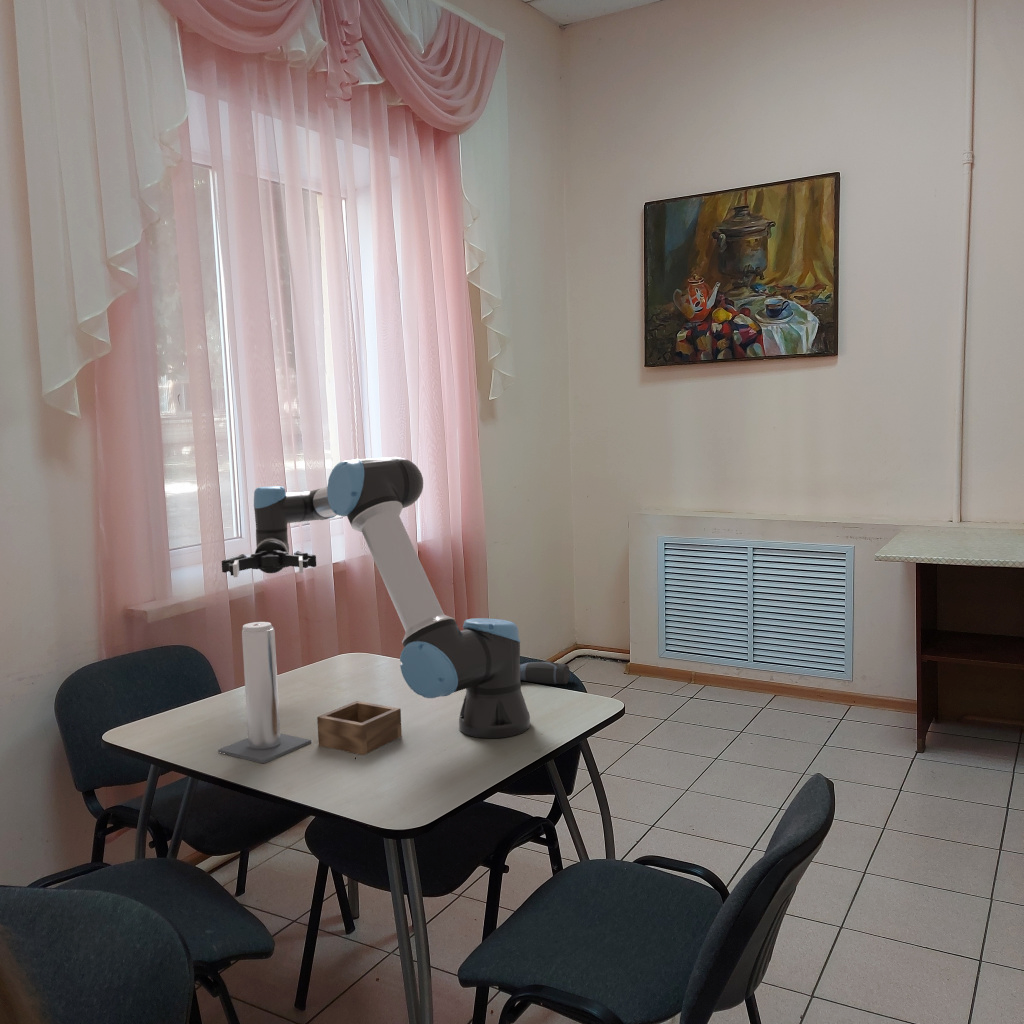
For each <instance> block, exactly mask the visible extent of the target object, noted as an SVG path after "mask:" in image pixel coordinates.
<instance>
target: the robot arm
mask: <svg viewBox="0 0 1024 1024" xmlns="http://www.w3.org/2000/svg"><path fill="white" fill-rule="evenodd" d="M423 489H424V477H423V475H422V472H421V470H420V469H419V466H417V465H416V464H415V463H413V462H412V461H411V460H409V459H406V458H404V457H400V456H399V457H398V456H391V457H390V456H389V457H377V458H376V457H375V458H361V459H360V458H353V459H349V460H343V461H340V462H338V463H337V464H336V465H335V466H334V467H333V469H332V470H331V472H330V474H329V477H328V480H327V486H325V487H321V488H317V489H313V490H309V491H299V492H296V491H295V492H294V491H293V492H292V491H291V492H287V491H286V489H285V487H284V486H281V485H280V486H279V485H271V486H259V487H256V488H255V490H254V491H253V511H254V520H255V541H256V542H255V543H256V545H255V546H256V548H255V552H254V553H252V554H251V555H250V556H247V555H246V554H242V553H241V554H238V555H237V556H235V557H231V558H227V559H224V560H221V572H222V573H228V572H229V573H230V577H231V576H233V578H238V577H239V574H240V572H241V571H246V570H250V569H252V570H260V571H261V572H263V573H265V574H276V573H279V572H280V571H282V570H283V569H284V568H289V567H295V568H298V569H299V570H298V571H299V574H303V573H304V568H305V569H306V568H309V567H311V568H316V567H317V555H316V554H310V553H308V552H302V551H299V550H297V551H295V552H293V554H290V553H289V552H290V546H289V539H288V536H289V535H288V524H294V523H301V522H302V523H303V522H309V521H319V520H320V521H324V520H328V519H332V518H335V517H336V516H340V517H343V518H344V517H347V519H348V521H349V524H350V526H351V528H352V529H353V530H355V531H358V532H359V533H360V532H361V533H362V535H363V538H364V540H365V542H366V545H367V547H368V549H369V551H370V554H371V557H372V559H373V562H374V563H375V566H376V568H377V569H378V572H379V574H380V576H381V579H382V581H383V584H384V585H385V588H386V590H387V592H388V595H389V598H390V599H391V602H392V604H393V606H394V608H395V611H396V614H397V615H398V617H399V620H400V622H401V624H402V627H403V630H404V631H405V633H404V636H403V639H402V641H401V643H402V645H403V649H402V651H401V653H400V655H399V661H400V662H401V664H400V665H399V667H400V672H401V675H402V677H403V680H404V681H405V683H406V684H407V685H408V687H409V688H410V690H412V691H413V692H414V693H415V694H416V695H418V696H421V697H423V698H425V699H436V698H441V697H448V696H450V695H451V694H453V693H457V692H459V691H463V690H465V695H464V699H463V702H462V705H461V709H460V712H459V717H458V727H459V731H460V732H461V733H463V734H464V735H467V736H470V737H475V738H480V739H481V738H482V739H483V738H484V739H498V738H500V739H501V738H508V737H512V736H513V735H514V736H517V735H520V734H523V733H524V731H525V732H527V731H528V730H529V729H530V727H531V716H530V712H529V711H528V707H527V704H526V700H525V699H524V698H525V697H524V696H523V692H522V688H521V680H520V664H521V645H520V644H521V639H520V633H519V627H518V625H517V624H516V623H515V622H514V621H510V620H505V619H499V618H486V617H485V618H484V617H479V618H477V617H475V618H469V619H467V618H466V619H465V620H464V621H463V625H462V630H460V628H459V626H458V624H457V621H456V620H455V619H456V618H454V617H451V616H450V615H446V614H445V613H444V611H443V609H442V606H441V604H440V602H439V600H438V598H437V595H436V594H435V591H434V589H433V587H432V584H431V582H430V580H429V578H428V576H427V573H426V571H425V569H424V566H423V565H422V563H421V560H420V559H419V556H418V554H417V552H416V549H415V548H414V545H413V543H412V540H411V538H410V536H409V534H408V532H407V530H406V528H405V525H404V522H403V520H402V519H401V517H400V515H401V513H402V510H403V509H404V508H407V507H411V506H412V505H414V503H416V502H417V501H418V499H419V498H420V497H421V495H422V493H423ZM528 728H529V729H528ZM527 729H528V730H527ZM522 732H523V733H522Z"/></svg>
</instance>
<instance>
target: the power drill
mask: <svg viewBox="0 0 1024 1024" xmlns="http://www.w3.org/2000/svg"><path fill="white" fill-rule="evenodd" d="M570 672H571V671H570V667H569V665H568V664H566V663H565V664H564V663H558V662H547V661H546V662H545V661H537V662H536V661H534V662H525V663H520V681H524V682H530V683H536V684H546V685H547V684H548V685H567V684H568V683H569V680H570V674H571V673H570Z"/></svg>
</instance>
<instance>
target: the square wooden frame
mask: <svg viewBox="0 0 1024 1024" xmlns="http://www.w3.org/2000/svg"><path fill="white" fill-rule="evenodd" d="M401 715H402V713H401V708H399V707H394V706H389V705H382V704H378V703H372V702H365V701H359V700H355V701H353V702H350V703H348V704H345V705H343V706H340V707H337V708H336V709H333V710H331V711H328V712H326V713H323V714H321V715H318V716H317V717H316V721H317V737H318V738H317V739H318V741H317V742H318V743H317V744H318V746H320V747H325V748H328V749H333V750H338V751H342V752H343V751H344V752H348V753H352V754H357V755H361V756H365V755H367V754H368V753H371V752H373V751H375V750H377V749H379V748H381V747H383V746H385V745H388V744H390V743H392V742H393V741H396V740H397V739H399V738H402V737H403V734H402V716H401Z"/></svg>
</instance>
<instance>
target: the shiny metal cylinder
mask: <svg viewBox="0 0 1024 1024" xmlns="http://www.w3.org/2000/svg"><path fill="white" fill-rule="evenodd" d="M275 633H276V632H275V627H274V626H272V623H271V622H269V621H256V622H255V621H254V622H249V623H245V624H243V625H242V630H241V638H242V639H241V642H242V656H243V657H242V659H243V675H244V676H243V677H244V691H245V704H246V706H245V707H246V708H245V709H246V724H247V726H246V727H247V738H248V743H249V744H248V747H249V748H251V749H254V750H265V749H271V748H274V747H277V746H278V745H280V744H281V737H280V733H281V723H280V709H279V708H280V703H279V690H278V689H279V688H278V687H279V686H278V670H277V668H278V667H277V655H276V653H277V650H276V649H277V648H276V634H275Z"/></svg>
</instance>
